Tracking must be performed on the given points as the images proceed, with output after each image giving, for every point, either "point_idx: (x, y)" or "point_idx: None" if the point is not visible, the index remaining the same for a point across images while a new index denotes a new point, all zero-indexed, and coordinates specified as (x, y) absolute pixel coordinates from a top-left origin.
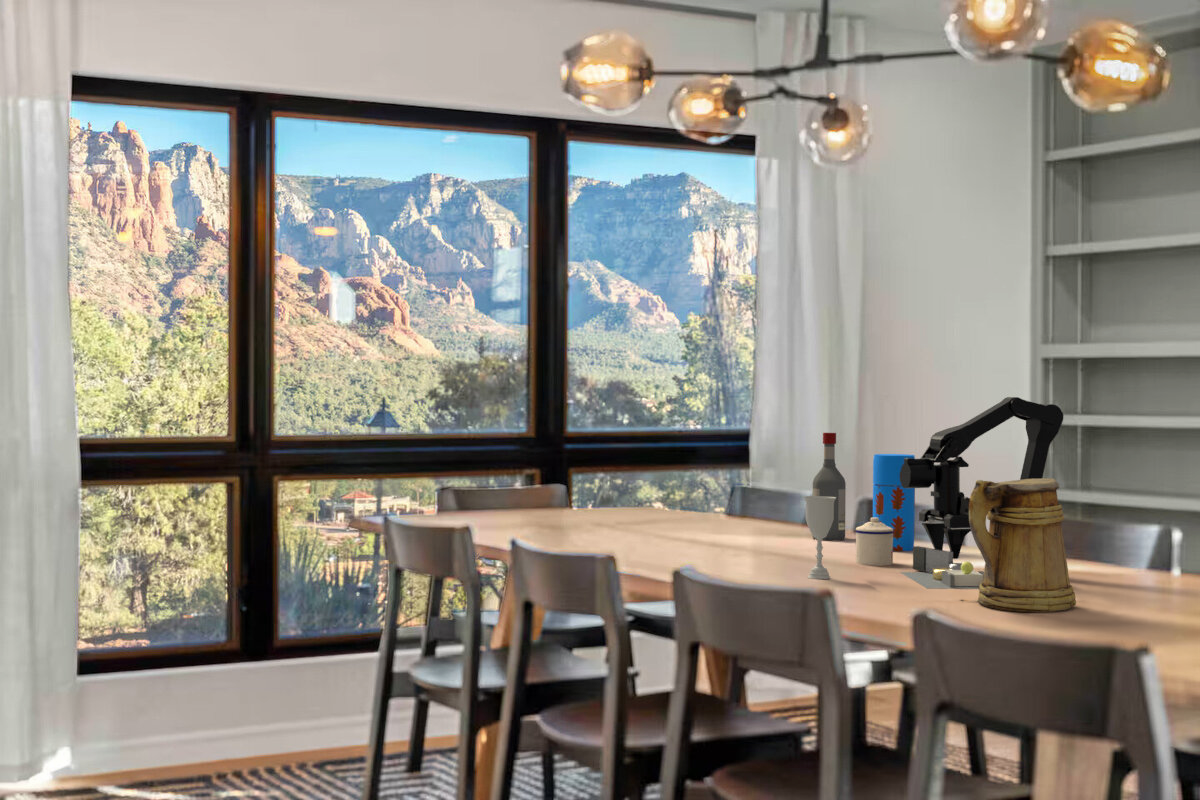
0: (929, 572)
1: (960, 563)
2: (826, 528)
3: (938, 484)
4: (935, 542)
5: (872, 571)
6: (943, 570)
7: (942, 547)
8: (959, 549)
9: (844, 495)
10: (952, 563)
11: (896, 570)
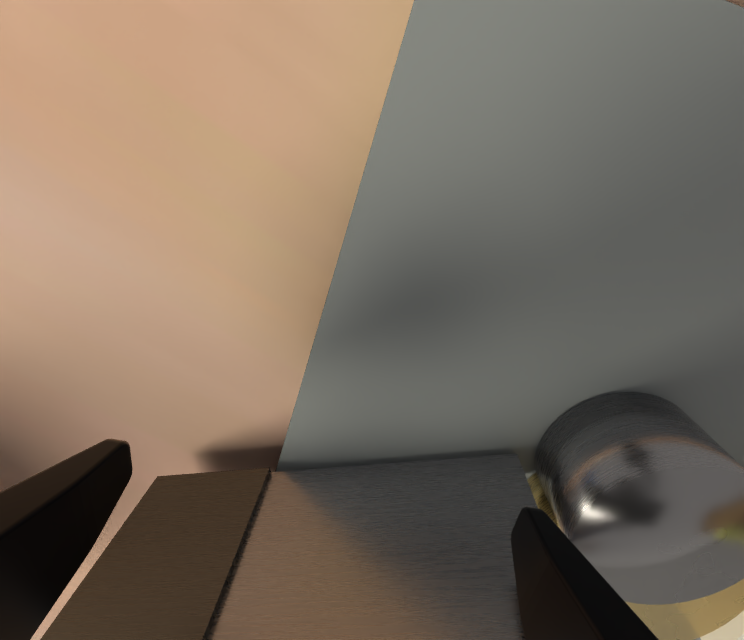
0: (282, 468)
1: (628, 513)
2: None
3: None
4: (33, 609)
5: (67, 587)
6: (655, 628)
7: (78, 488)
8: (618, 611)
9: None
10: (593, 561)
11: (15, 481)
